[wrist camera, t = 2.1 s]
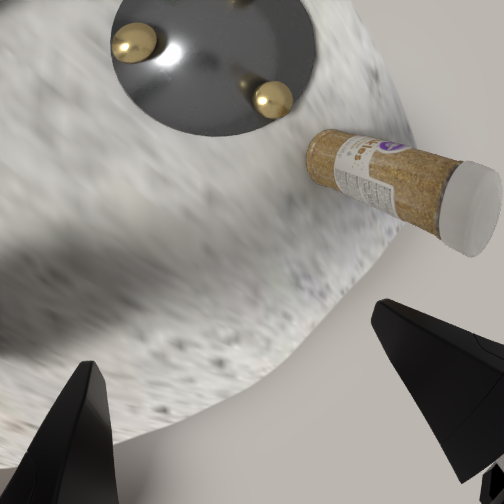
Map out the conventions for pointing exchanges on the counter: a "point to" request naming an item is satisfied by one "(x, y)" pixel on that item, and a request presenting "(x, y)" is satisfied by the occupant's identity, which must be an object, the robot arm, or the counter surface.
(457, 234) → the sprinkles bottle
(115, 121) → the counter surface
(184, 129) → the tribrach plate
